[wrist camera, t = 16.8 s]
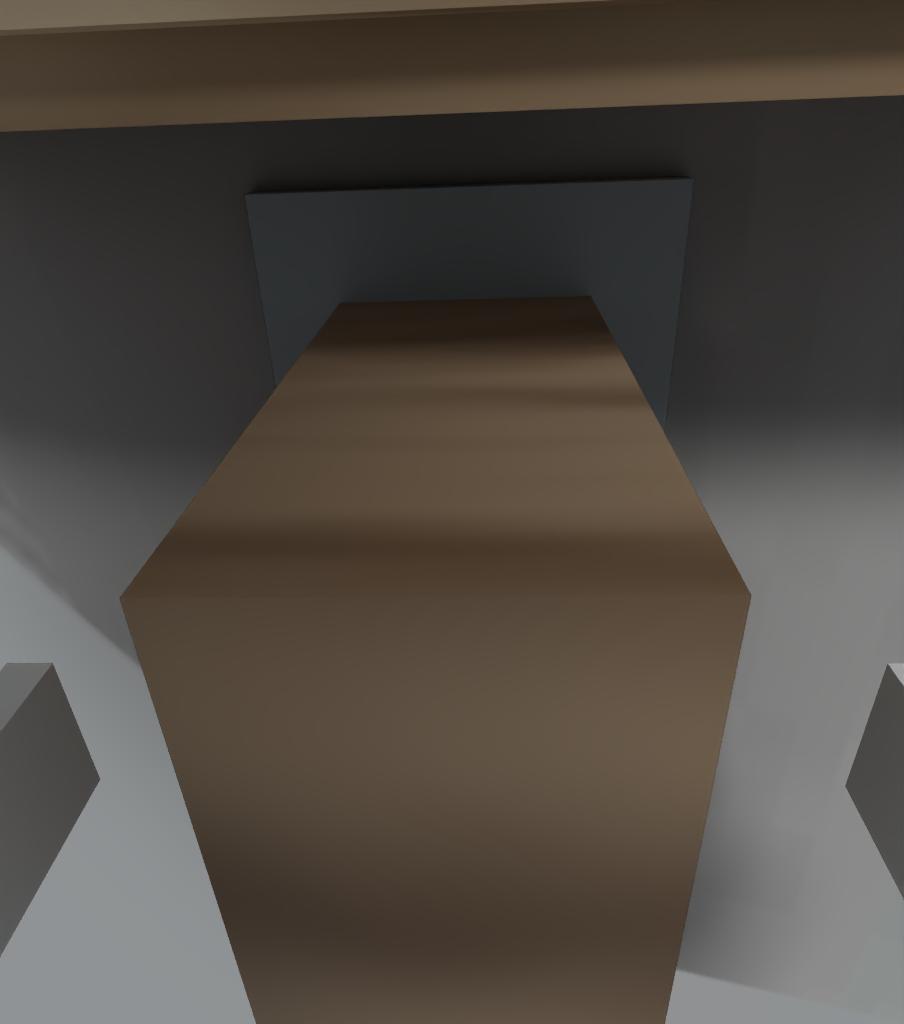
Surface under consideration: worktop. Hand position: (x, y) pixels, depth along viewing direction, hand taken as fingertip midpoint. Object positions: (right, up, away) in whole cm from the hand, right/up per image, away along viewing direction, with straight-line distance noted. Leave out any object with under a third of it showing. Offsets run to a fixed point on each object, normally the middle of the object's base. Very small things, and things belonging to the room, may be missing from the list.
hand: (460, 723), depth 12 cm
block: (0, +4, +8) cm, 9 cm away
